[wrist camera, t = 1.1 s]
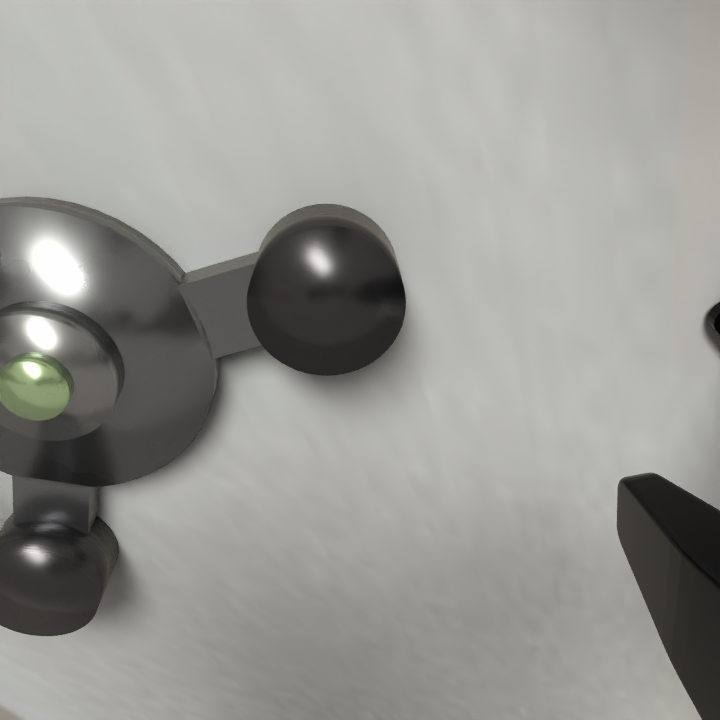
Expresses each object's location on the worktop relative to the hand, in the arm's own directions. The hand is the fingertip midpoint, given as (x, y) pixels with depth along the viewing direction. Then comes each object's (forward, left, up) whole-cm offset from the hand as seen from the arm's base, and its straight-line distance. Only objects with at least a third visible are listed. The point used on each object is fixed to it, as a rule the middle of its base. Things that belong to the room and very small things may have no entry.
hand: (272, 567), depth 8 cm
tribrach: (+5, +8, -13) cm, 16 cm away
